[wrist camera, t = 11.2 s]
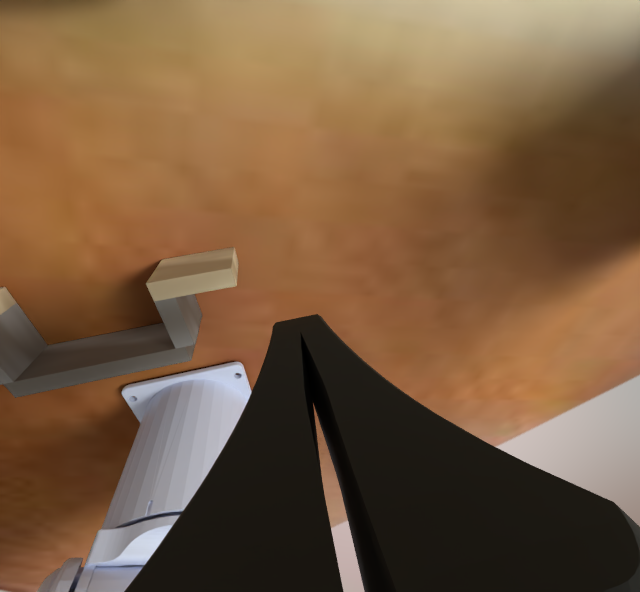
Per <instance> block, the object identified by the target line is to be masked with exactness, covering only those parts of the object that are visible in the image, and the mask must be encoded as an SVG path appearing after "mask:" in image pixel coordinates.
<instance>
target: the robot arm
mask: <svg viewBox="0 0 640 592" xmlns="http://www.w3.org/2000/svg"><path fill="white" fill-rule="evenodd" d="M236 373H240V374H239V375H236ZM122 396H123V397H124V399H125V400H126V402H127V403H128V405H129V407H130V408H131V410H132V411H133V413H134V414H135V416H136V418H137V419H138V421H139V422H140V427H139V429H138V432H137V435H136V437H135V440H134V443H133V445H132V448H131V451H130V453H129V456H128V459H127V461H126V464H125V467H124V469H123V472H122V475H121V477H120V480H119V483H118V485H117V488H116V491H115V493H114V496H113V499H112V501H111V504H110V507H109V509H108V512H107V515H106V517H105V520H104V523H103V525H102V528H101V529H100V530H99V531H98V532H97V534H96V537H95V539H94V542H93V545H92V547H91V550H90V553H89V555H88V558H87V560H86V563H85V566H84V567H81V564H82V560H83V558H69V559H68V560H66V561H65V562H64V563H63V565H62V567H61V568H58V569H57V570H55V571H54V572H53V573H52V574H50V575H49V576H48V577H46V578H45V580H44V581H43V582H42V584H41V586H40V587H39V589H38V591H37V592H343V588H342V583H341V578H340V573H339V568H338V563H337V557H336V553H335V547H334V542H333V537H332V532H331V527H330V522H329V517H328V511H327V506H326V501H325V496H324V490H323V483H322V477H321V468H320V459H319V451H318V442H317V433H316V425H315V416H314V407H313V403H314V406H315V409H316V412H317V416H318V419H319V422H320V425H321V428H322V431H323V434H324V437H325V440H326V443H327V446H328V449H329V453H330V456H331V459H332V462H333V465H334V468H335V471H336V474H337V478H338V481H339V485H340V488H341V492H342V496H343V501H344V505H345V509H346V513H347V518H348V522H349V526H350V530H351V535H352V538H353V543H354V547H355V551H356V556H357V560H358V564H359V569H360V573H361V577H362V582H363V586H364V590H365V592H640V527H639V526H638V525H637V524H636V523H635V522H634V521H633V520H632V519H631V518H630V517H629V516H628V515H627V514H626V513H625V512H624V511H622V510H621V509H620V508H619V507H618V506H617V505H616V504H615V503H614V502H612V501H610V500H607V499H605V498H603V497H601V496H598V495H596V494H594V493H592V492H590V491H587V490H585V489H583V488H581V487H578V486H576V485H574V484H572V483H570V482H568V481H565V480H563V479H561V478H559V477H556V476H554V475H552V474H550V473H547V472H545V471H543V470H541V469H539V468H536V467H534V466H532V465H530V464H528V463H526V462H523V461H522V460H520V459H518V458H516V457H514V456H512V455H510V454H508V453H506V452H504V451H502V450H500V449H498V448H496V447H494V446H492V445H490V444H488V443H486V442H484V441H483V440H481V439H479V438H477V437H476V436H474V435H472V434H470V433H469V432H467V431H465V430H463V429H462V428H460V427H458V426H456V425H455V424H453V423H451V422H449V421H448V420H446V419H444V418H442V417H441V416H439V415H437V414H436V413H434V412H433V411H431V410H429V409H428V408H426V407H425V406H423V405H422V404H420V403H419V402H417V401H416V400H414V399H413V398H411V397H410V396H408V395H407V394H405V393H404V392H403V391H401V390H400V389H398V388H397V387H396V386H394V385H393V384H392V383H390V382H389V381H388V380H386V379H385V378H384V377H382V376H381V375H380V374H379V373H378V372H376V371H375V370H374V369H373V368H371V367H370V366H369V365H368V364H367V363H366V362H364V361H363V360H362V359H361V358H360V357H359V356H358V355H357V354H356V353H355V352H353V351H352V350H351V349H350V348H349V347H348V346H347V345H346V344H345V343H344V342H343V341H342V340H341V339H340V338H339V337H338V336H337V335H336V334H335V333H334V332H333V330H332V329H331V328H330V327H329V326H328V325H327V324H326V322H325V321H324V320H323V318H322V317H321V316H319V315H318V314H316V315H311V316H306V317H301V318H296V319H291V320H286V321H281V322H276V323H275V325H274V326H273V331H272V336H271V340H270V344H269V347H268V351H267V354H266V357H265V360H264V363H263V365H262V368H261V371H260V374H259V376H258V379H257V381H256V383H255V386H254V388H253V390H252V391H251V388H250V385H249V382H248V379H247V376H246V372H245V369H244V366H243V364H242V363H240V362H231V363H227V364H222V365H217V366H213V367H208V368H204V369H199V370H194V371H190V372H185V373H180V374H176V375H171V376H166V377H162V378H157V379H152V380H148V381H143V382H138V383H134V384H129V385H126V386H125V387H124V388H123V390H122ZM132 396H135V397H132Z"/></svg>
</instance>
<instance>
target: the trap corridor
mask: <svg viewBox="0 0 640 592" xmlns="http://www.w3.org/2000/svg"><path fill="white" fill-rule="evenodd" d="M238 264H239V263H238V259H237V255H236V252H235V248H234V247H232V248H226V249H220V250H214V251H209V252H203V253H197V254H191V255H185V256H180V257H174V258H168V259H162V260H161V262H160V263H159V265H158V266H157V268H156V269H155V271H154V272H153V274H152V275H151V276H150V278H149V279H148V281H147V282H146V285H147V287H148V290H149V292H150V294H151V296H152V298H153V300H154V303H155V305H156V307H157V309H158V311H159V314H160V316H161V318H162V320H163V322H164V323H160V324H154V325H149V326H144V327H139V328H134V329H129V330H124V331H119V332H114V333H108V334H103V335H98V336H93V337H88V338H83V339H78V340H73V341H67V342H62V343H57V344H52V345H47V343H46V342H45V341H44V339H43V338H42V337H41V335H40V334H39V333H38V331H37V330H36V328H35V327H34V326H33V324H32V323H31V322H30V320H29V319H28V318H27V316H26V315H25V313H24V312H23V311H22V309H21V308H20V307H19V305H18V304H17V302H16V301H15V300H14V298H13V297H12V296H11V294H10V293H9V292H8V290H7V289H6V287H0V385H1V384H3V385H4V386H5V387H6V388H7V389H8V390H9V391H10V392H11V393H12V395H13V396H14V397H15V398H16V397H21V396H25V395H30V394H35V393H40V392H44V391H49V390H54V389H59V388H63V387H68V386H73V385H78V384H82V383H87V382H92V381H96V380H101V379H106V378H111V377H115V376H120V375H125V374H130V373H134V372H139V371H144V370H149V369H153V368H158V367H163V366H167V365H172V364H177V363H182V362H186V361H191V359H192V355H193V351H194V348H195V344H196V340H197V336H198V332H199V326H200V322H201V318H202V313H201V310H200V308H199V305H198V302H197V300H196V297H195V294H197V293H202V292H207V291H213V290H218V289H223V288H229V287H234V286H236V285H237V274H238Z"/></svg>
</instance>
